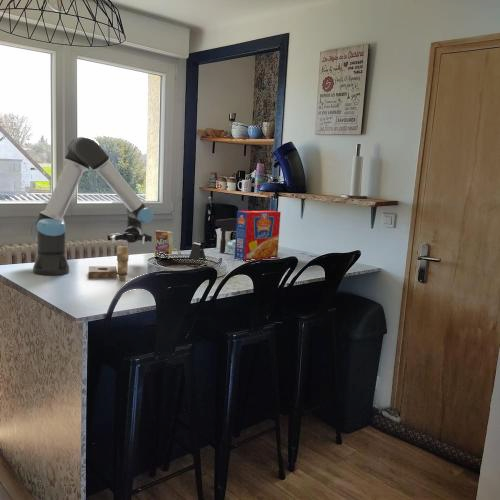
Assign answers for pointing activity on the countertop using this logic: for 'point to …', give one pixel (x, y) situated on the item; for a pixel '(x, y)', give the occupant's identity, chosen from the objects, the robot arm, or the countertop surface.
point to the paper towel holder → (225, 226)
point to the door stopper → (197, 251)
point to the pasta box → (257, 235)
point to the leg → (122, 261)
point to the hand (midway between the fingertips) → (127, 240)
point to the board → (102, 272)
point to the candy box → (163, 241)
